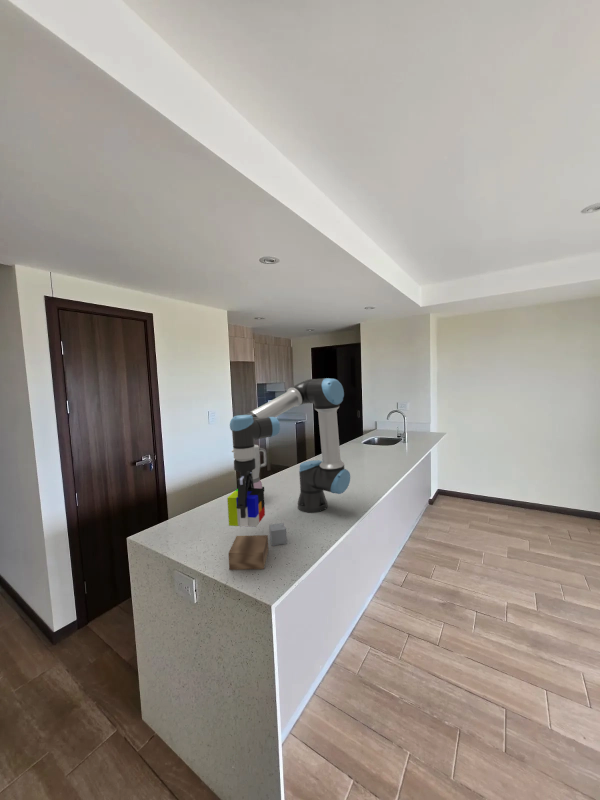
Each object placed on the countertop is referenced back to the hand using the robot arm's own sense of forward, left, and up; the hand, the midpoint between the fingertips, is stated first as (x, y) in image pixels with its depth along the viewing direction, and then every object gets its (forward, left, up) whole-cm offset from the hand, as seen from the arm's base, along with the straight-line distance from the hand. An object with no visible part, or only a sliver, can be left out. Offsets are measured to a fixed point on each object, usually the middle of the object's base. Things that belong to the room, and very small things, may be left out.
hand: (247, 518), depth 115 cm
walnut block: (0, 0, -15) cm, 15 cm away
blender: (+8, -54, -15) cm, 57 cm away
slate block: (-9, -13, -15) cm, 22 cm away
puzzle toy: (0, 0, -1) cm, 1 cm away
